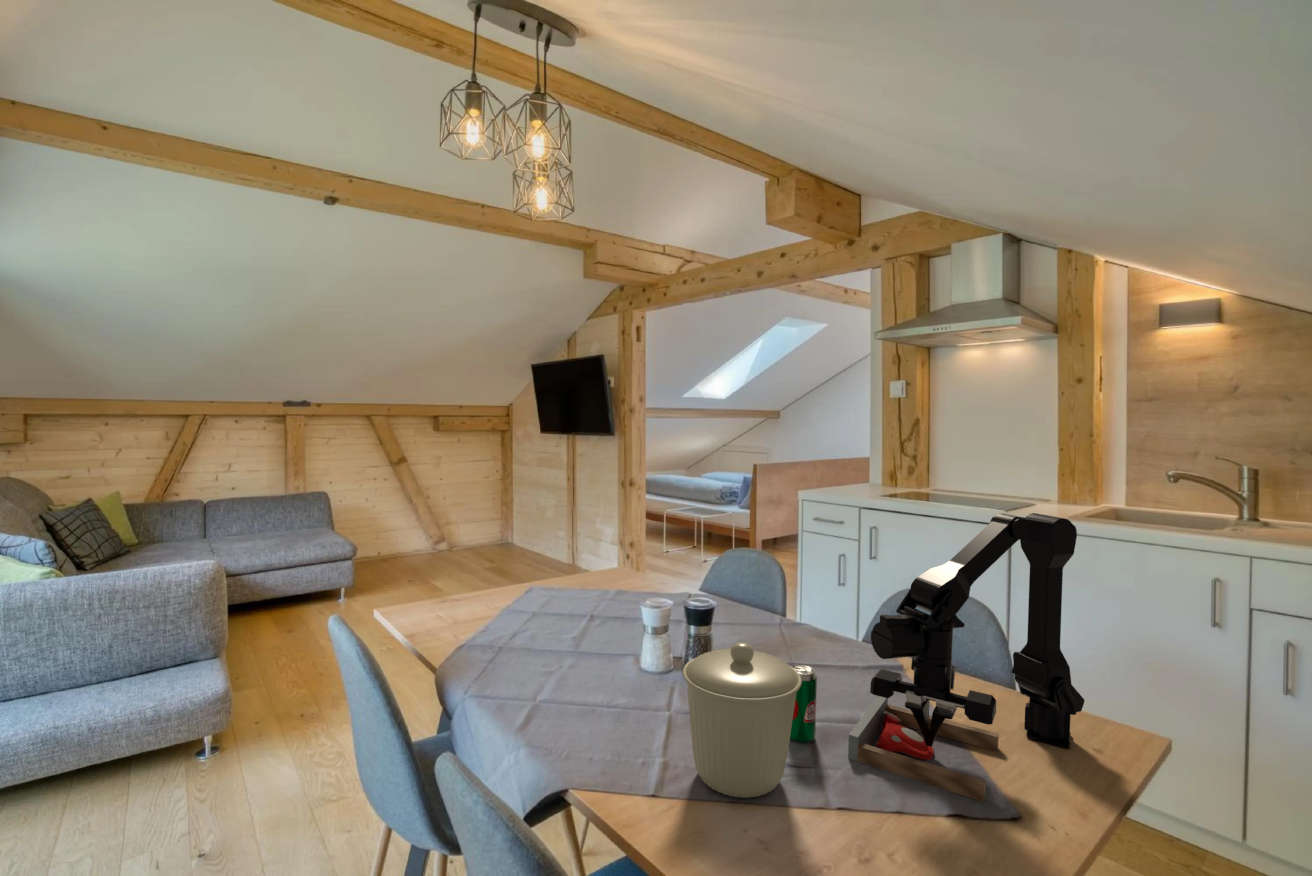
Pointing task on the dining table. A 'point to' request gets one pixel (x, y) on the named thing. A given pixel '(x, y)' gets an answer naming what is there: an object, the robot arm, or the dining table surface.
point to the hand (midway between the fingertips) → (929, 745)
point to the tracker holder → (902, 739)
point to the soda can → (805, 706)
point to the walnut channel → (929, 771)
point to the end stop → (867, 726)
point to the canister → (740, 718)
